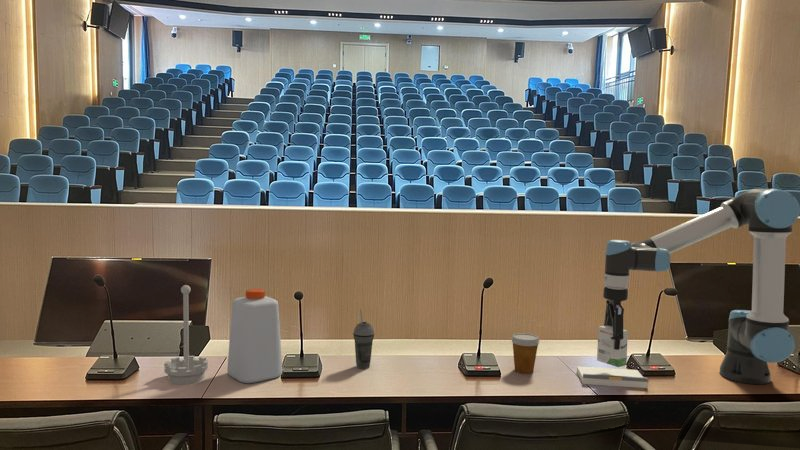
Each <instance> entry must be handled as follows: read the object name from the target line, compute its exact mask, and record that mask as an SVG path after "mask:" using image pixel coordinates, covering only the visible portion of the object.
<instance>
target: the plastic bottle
mask: <svg viewBox="0 0 800 450" xmlns="http://www.w3.org/2000/svg"><path fill="white" fill-rule="evenodd" d="M231 302H232V303H231V312H230V313H231V315H230V327H229V328H230V329H229V342H228V356H227V357H228V358H227V375H229V376H230V377H232V378H234V379H235V380H236V381H238V382H239V383H243V384H255V383H259V382H263V381H268V380H272V379H276V378H279V377H280V376H281V375H282V374H283V359H282V358H283V357H282V344H281V343H282V342H281V341H282V340H281V327H280V309H279V302H278V299H277V300H276V299H274V298H272V297H269V296H267V295H266V291H265V289H262V288H250V289H247V290H246V291H245V296H242V297H237V298H234V299H233V300H232V301H231Z"/></svg>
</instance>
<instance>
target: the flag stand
mask: <svg viewBox="0 0 800 450" xmlns="http://www.w3.org/2000/svg"><path fill="white" fill-rule="evenodd" d="M191 291H192V290H191V287H190V286H189V285H188V284H184V285H183V286H181V288H180V293H182V296H183V297H182V302H183V304H182V305H183V306H182V307H183V308H182V309H183V311H182V312H183V313H182V314H183V318H182V319H183V320H182V321H183V359H180V356H176V357H173V358H170V361H169V360H167V361H165V362H164V369H163V371H164V373H165V374H166V375H167V381H168V383H170V384H174V385H189V384H196V383H198V382H201V381H203V380H204V379H205V377H206V376H205V373H206V371H207V370H208V369H209V359H208V360H207V357H204V356H199V357H198V359H197V358H195V357H196V356H195V355H190V351H189V350H190V349H189V348H190V343H189V342H190V340H189V339H190V338H189V332H190V331H189V329H190V328H189V321H190V319H189V315H190V314H189V294H190V293H191Z"/></svg>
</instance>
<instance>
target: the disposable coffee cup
mask: <svg viewBox="0 0 800 450" xmlns="http://www.w3.org/2000/svg"><path fill="white" fill-rule="evenodd" d="M511 342H512V350H513V363H514V371H515V372H517V373H520V374H532V373H534V369H535V365H536V357H537V353H538V348H539V347H538V346H539V344H540V339H539V336H538V335H536V334H533V333H526V332H522V333H521V332H517V333H514V334H513V335H512V337H511Z"/></svg>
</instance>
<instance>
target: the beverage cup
mask: <svg viewBox="0 0 800 450" xmlns="http://www.w3.org/2000/svg"><path fill="white" fill-rule="evenodd" d="M359 312H360V322H359V323H358V324H356V325H355V327H354V330H353V333H352V335H353V339H354V349H355V350H354V351H355V364H356V368H357V369H361V370H366V369H369V368H370V367H371V361H372V360H371V359H372V349H373V341H374V338H375V331H374V327H373V326H372V325H371V324H370V323H369V322H366V321H364V320H363V312H362V309H359Z"/></svg>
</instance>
